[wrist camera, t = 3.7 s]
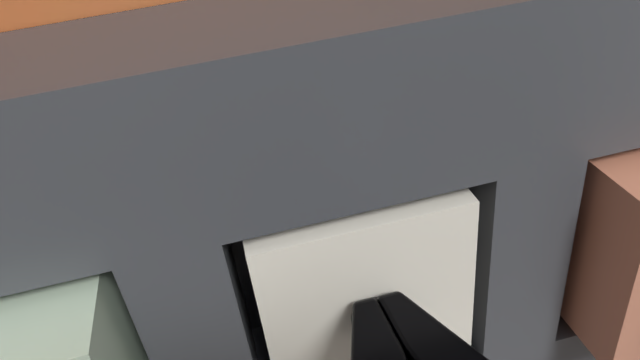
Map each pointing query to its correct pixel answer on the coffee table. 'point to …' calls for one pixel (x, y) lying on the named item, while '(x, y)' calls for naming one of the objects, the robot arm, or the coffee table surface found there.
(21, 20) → the coffee table surface
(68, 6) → the coffee table surface
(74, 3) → the coffee table surface
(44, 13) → the coffee table surface
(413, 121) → the keypad
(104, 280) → the key two dots
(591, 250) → the key three dots
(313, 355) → the key one dot
